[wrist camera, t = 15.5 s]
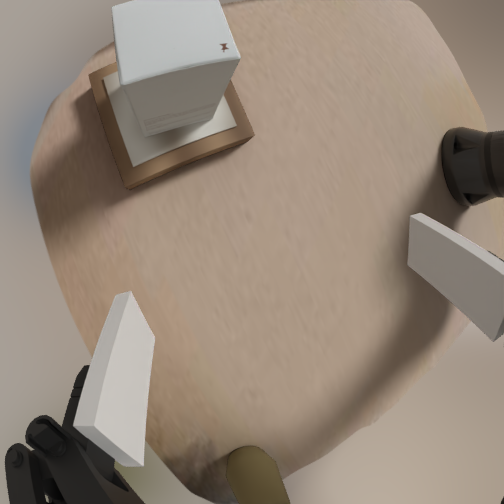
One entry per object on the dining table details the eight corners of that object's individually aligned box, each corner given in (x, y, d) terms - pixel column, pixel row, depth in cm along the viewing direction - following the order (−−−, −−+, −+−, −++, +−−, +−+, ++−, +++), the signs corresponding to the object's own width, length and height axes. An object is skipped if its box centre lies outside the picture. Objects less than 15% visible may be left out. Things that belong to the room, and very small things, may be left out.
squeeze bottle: (234, 475, 37) (265, 555, 20) (212, 453, 35) (240, 546, 18) (276, 457, 39) (319, 534, 21) (258, 433, 37) (304, 522, 19)
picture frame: (205, 45, 27) (208, 31, 24) (247, 141, 30) (255, 134, 27) (94, 85, 25) (87, 73, 21) (129, 189, 28) (124, 187, 25)
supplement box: (197, 61, 24) (217, -16, 12) (213, 120, 26) (245, 60, 14) (128, 77, 23) (109, 4, 11) (141, 139, 24) (119, 87, 12)
